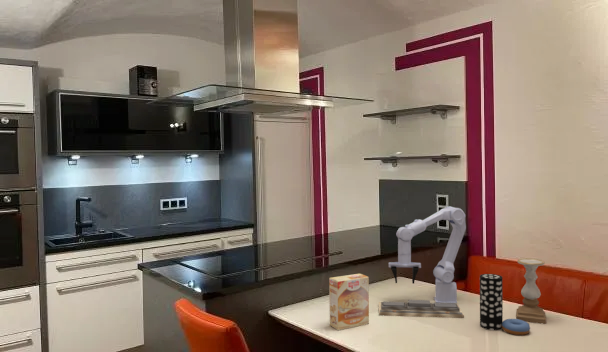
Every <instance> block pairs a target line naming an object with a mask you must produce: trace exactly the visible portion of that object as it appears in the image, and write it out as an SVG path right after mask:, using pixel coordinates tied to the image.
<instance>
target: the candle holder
mask: <svg viewBox="0 0 608 352" xmlns="http://www.w3.org/2000/svg"><path fill="white" fill-rule="evenodd" d="M516 262H517V263H518V264H519V265H522V266H523V267H524V268H525V271H526V272H525V274H524V275H523V277H524V279H525V284H524V286H523V287H522V288H521V292H520V293H521V296H522V297H523V299H522V303H523V305H519V306H518V308H516V309H515V311H516V314H515V319H519V320H523V321H525V322H527V323H533V324H541V323H543V325H546V323H547V318H546V312H545V310H544V308H542V307H540V306H539V304H540V301H539V300H538V299H539V298H540V297H541V295H542V294H541V291H540V288H539V287H538V285H537V284H536V282H537V281H536V280H537V279H538V278H539V277H538V274H537V273H536V271H537V269H538V267H540V266H544V265H545V264H546V263H545V261H544V260H542V259H539V258H538V259H537V258H536V259H535V258H525V257H524V258H519V259H517V261H516Z"/></svg>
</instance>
